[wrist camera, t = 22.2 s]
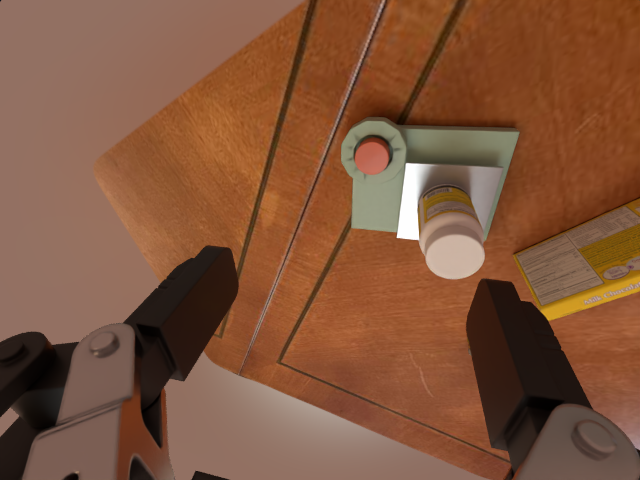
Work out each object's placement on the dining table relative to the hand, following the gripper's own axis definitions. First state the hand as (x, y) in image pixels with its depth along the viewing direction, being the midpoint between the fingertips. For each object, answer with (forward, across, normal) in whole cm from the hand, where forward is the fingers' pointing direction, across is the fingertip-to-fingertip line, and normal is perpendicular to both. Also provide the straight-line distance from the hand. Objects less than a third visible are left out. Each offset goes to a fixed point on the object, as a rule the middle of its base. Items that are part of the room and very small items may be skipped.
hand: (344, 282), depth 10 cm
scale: (+24, -5, +6) cm, 25 cm away
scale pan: (+20, -7, +7) cm, 23 cm away
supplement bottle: (+20, -7, +7) cm, 23 cm away
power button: (+21, 0, +2) cm, 21 cm away
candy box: (+23, -22, +9) cm, 33 cm away
